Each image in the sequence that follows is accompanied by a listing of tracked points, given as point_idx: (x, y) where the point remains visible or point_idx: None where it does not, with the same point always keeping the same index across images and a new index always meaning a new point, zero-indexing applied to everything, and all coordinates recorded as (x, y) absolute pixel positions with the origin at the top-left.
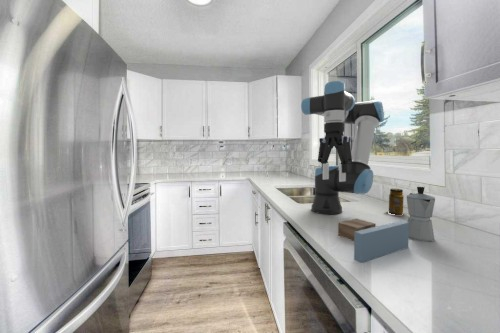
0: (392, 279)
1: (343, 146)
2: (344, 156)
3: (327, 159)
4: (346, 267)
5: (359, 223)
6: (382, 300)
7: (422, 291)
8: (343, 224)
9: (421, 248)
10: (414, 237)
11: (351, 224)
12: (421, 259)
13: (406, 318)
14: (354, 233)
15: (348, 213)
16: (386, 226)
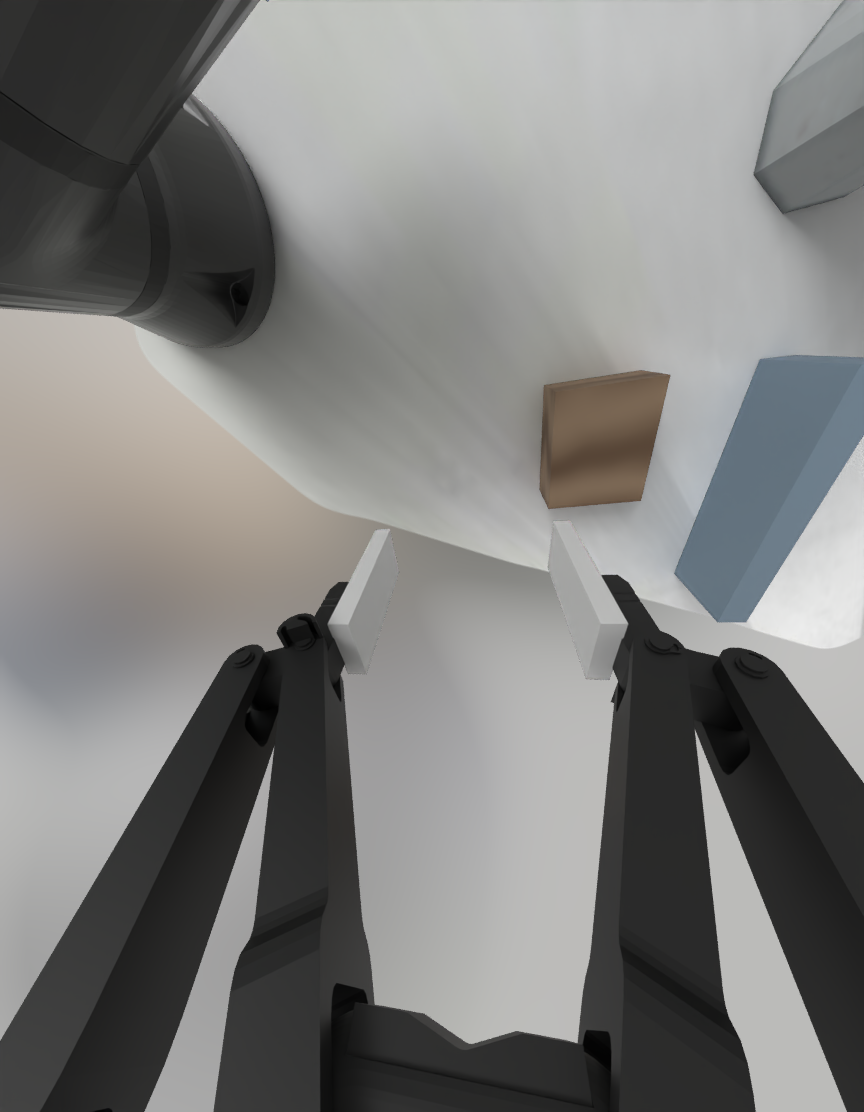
0: (782, 578)
1: (842, 1066)
2: (719, 785)
3: (328, 678)
4: (679, 608)
5: (612, 444)
6: (779, 636)
7: (849, 572)
8: (573, 505)
9: (853, 307)
10: (827, 198)
11: (597, 484)
12: None
13: (822, 643)
14: (714, 618)
15: (260, 93)
16: (801, 510)
